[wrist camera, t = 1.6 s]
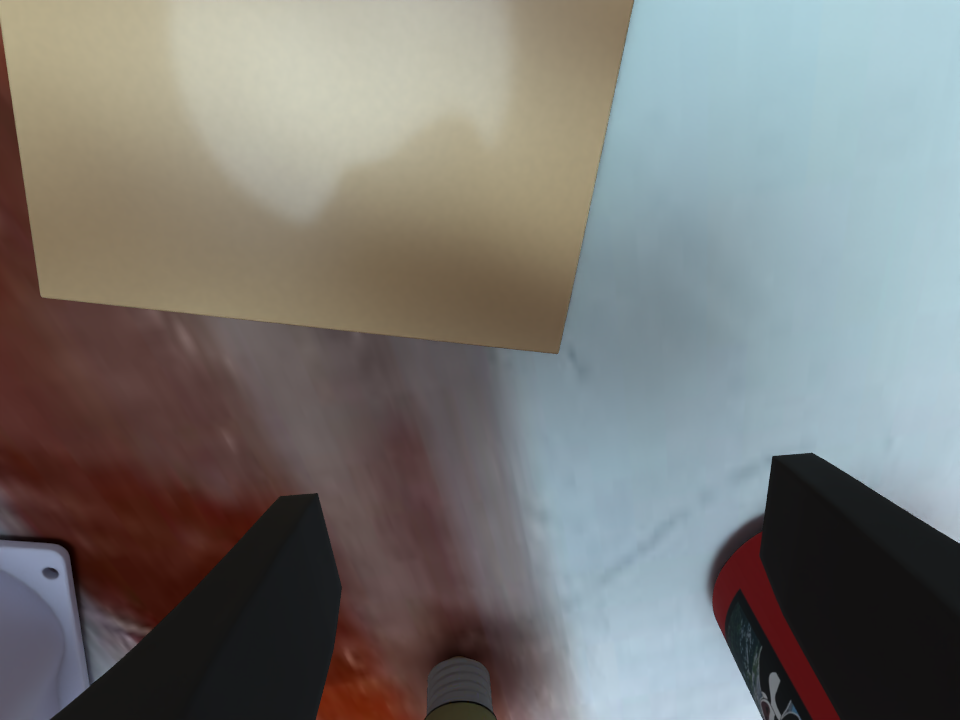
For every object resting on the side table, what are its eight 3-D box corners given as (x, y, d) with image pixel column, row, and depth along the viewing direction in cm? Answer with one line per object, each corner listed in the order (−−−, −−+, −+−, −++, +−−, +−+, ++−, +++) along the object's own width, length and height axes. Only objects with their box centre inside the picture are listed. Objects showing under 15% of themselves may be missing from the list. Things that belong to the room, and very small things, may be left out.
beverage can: (666, 592, 25) (840, 1010, 14) (794, 468, 23) (1117, 850, 12) (788, 657, 27) (1023, 1068, 16) (916, 548, 25) (1291, 939, 14)
